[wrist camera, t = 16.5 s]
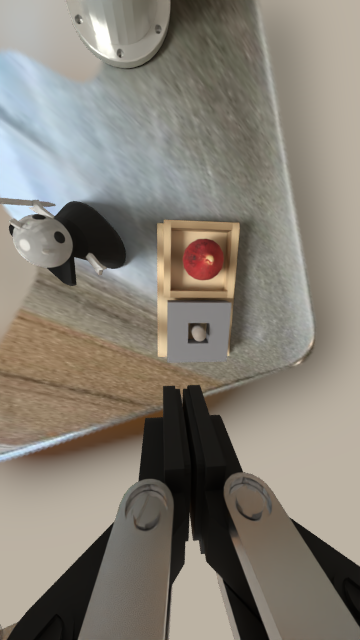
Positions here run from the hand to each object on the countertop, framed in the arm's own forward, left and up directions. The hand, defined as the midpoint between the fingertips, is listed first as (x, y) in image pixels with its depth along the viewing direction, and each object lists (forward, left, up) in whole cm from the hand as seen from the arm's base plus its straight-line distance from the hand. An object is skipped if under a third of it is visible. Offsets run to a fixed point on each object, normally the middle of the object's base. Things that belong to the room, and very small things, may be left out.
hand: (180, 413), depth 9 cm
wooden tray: (-2, +5, -27) cm, 28 cm away
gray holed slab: (+3, +5, -25) cm, 26 cm away
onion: (-8, +5, -26) cm, 28 cm away
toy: (-10, -12, -27) cm, 31 cm away
